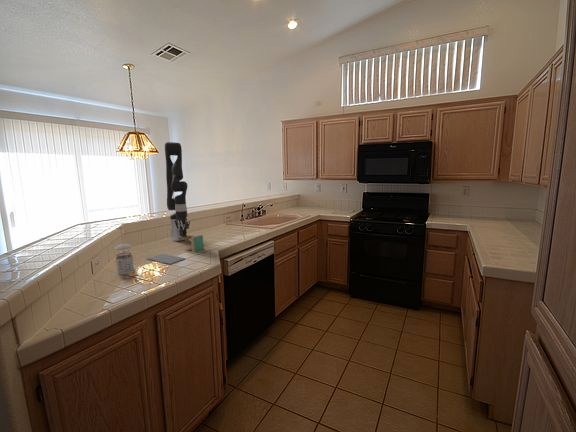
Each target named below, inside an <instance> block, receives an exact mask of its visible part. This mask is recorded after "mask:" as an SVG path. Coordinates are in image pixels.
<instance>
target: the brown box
mask: <svg viewBox="0 0 576 432" xmlns="http://www.w3.org/2000/svg"><path fill="white" fill-rule="evenodd" d="M184 228H185V226H184ZM194 236H195V235H189V234H188V233H187V234H186V235H183V227H182V228H180V237H178V238H180V239H184V240H187V241H188V240H191V237H194Z"/></svg>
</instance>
